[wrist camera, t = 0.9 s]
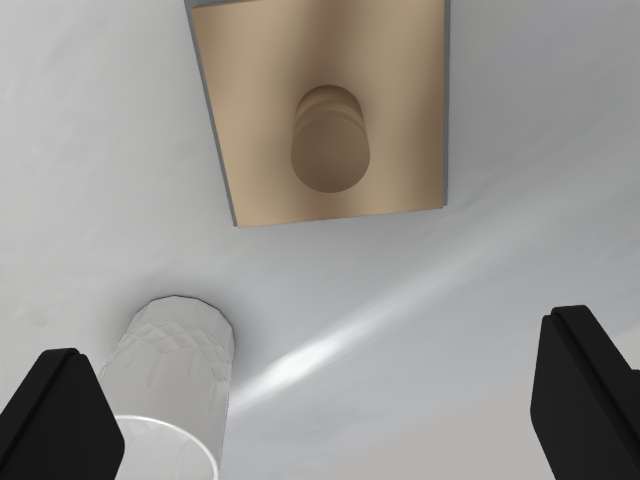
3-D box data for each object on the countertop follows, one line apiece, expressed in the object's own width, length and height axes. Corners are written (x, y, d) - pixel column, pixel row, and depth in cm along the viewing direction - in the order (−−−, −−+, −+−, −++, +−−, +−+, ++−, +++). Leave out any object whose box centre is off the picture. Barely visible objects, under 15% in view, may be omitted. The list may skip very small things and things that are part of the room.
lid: (439, -24, 23) (474, -11, 18) (438, 198, 29) (464, 258, 23) (196, 5, 24) (160, 27, 18) (241, 217, 29) (223, 281, 24)
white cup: (223, 391, 37) (193, 531, 28) (111, 359, 35) (44, 497, 27) (260, 310, 33) (239, 443, 25) (137, 270, 32) (69, 397, 23)
